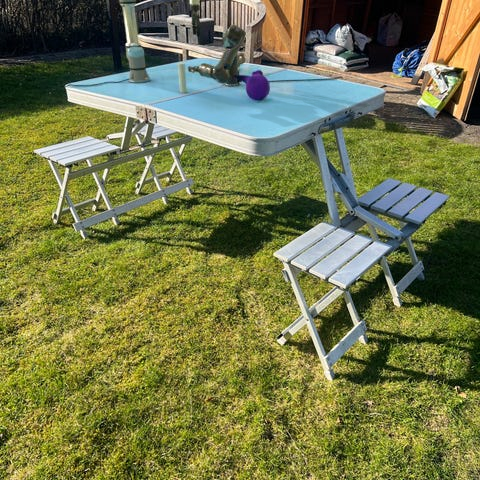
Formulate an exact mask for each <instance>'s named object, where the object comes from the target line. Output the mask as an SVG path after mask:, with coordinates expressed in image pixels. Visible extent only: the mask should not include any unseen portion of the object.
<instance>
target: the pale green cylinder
mask: <svg viewBox="0 0 480 480" xmlns="http://www.w3.org/2000/svg"><path fill="white" fill-rule="evenodd" d="M177 69H178V71H177V72H178V82H179V91H180V92H179V93H181V94H185V93H188V90H187V89H188V88H187V78H186V66H185V67H184V68H178V67H177Z"/></svg>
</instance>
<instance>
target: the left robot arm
mask: <svg viewBox="0 0 480 480" xmlns="http://www.w3.org/2000/svg"><path fill="white" fill-rule="evenodd" d="M188 1H189V11H191V26H192V35H194V36H195V35H196V37H201V20H200V13H199V11H201V5H200V1H201V0H188ZM119 5H120V6H121V8H122V13H123V22H124V29H125V35H126V36H125V38H126V43H125V56H126V59H127V60H128V66H129V76H128V78H127V79H123V80H120V81H104V82H99V83H94V84H71V83H69V84H66V85H67V86H66V85H65V86H64V88H67V87H69V86H71V87H72V86H73V87H93V86H100V85H103V84H111V83H116V84H117V83H123V82H127V81H128V82H129V83H133V84H141V83H148V82H150V76H149V74H148V71H147V67H146V59H145V50H144V48H143V47H142V43H140V42H139V41H140V40H139V34H138V25H137V17H136V8H135V6H136V5H137V0H119ZM70 135H71V140H72V141H74V136H73V131H72V130H70Z"/></svg>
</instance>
